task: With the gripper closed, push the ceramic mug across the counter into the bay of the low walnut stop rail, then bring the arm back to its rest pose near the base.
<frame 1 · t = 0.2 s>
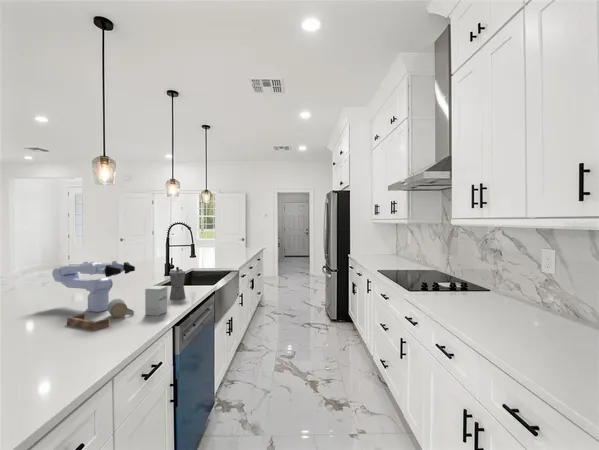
hand: (127, 269, 157), 21 cm above the countertop, tool horizontal, fingers open, 7 cm apart
supplement box: (156, 313, 159), on the countertop
ceramic mug: (121, 316, 155), on the countertop
coffeepot: (176, 297, 192), on the countertop
stop rail: (82, 326, 138), on the countertop
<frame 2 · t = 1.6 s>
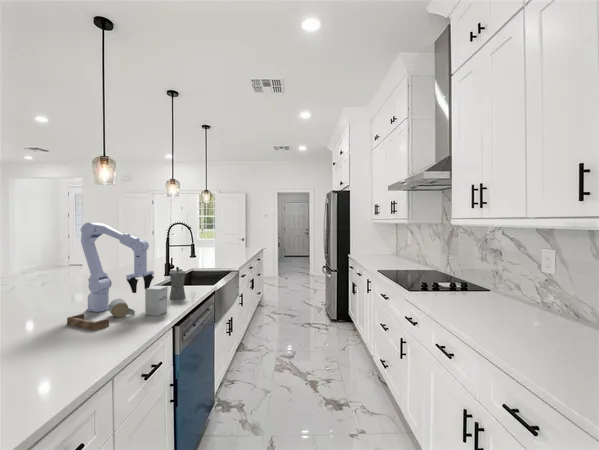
hand: (140, 291, 165), 9 cm above the countertop, tool pointing down, fingers open, 7 cm apart
nothing on the countertop moved.
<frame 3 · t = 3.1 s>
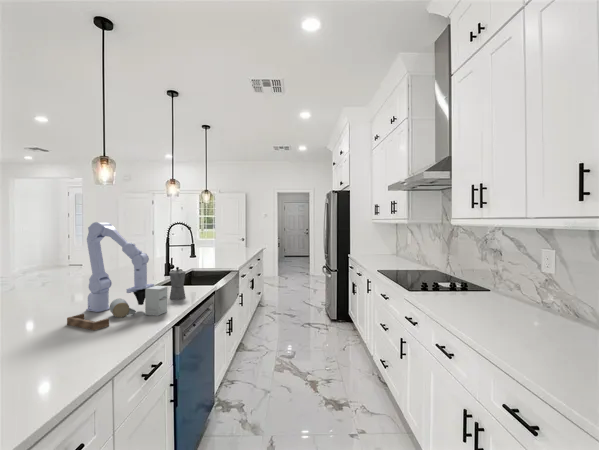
hand: (140, 304, 165), 3 cm above the countertop, tool pointing down, fingers closed
nothing on the countertop moved.
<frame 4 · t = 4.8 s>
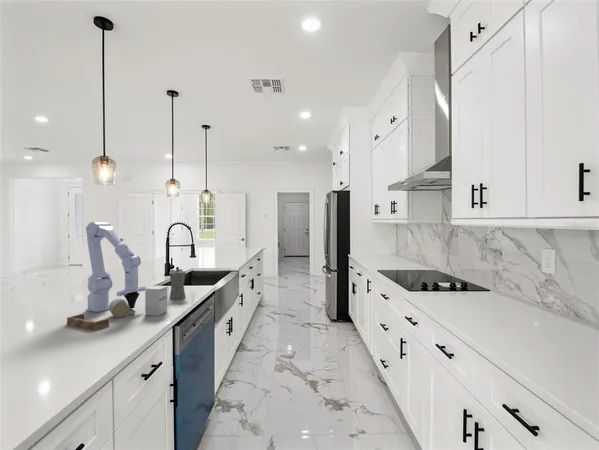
hand: (131, 308, 160), 2 cm above the countertop, tool pointing down, fingers closed
ceramic mug: (122, 316, 155), on the countertop, touching gripper
everything else where it was.
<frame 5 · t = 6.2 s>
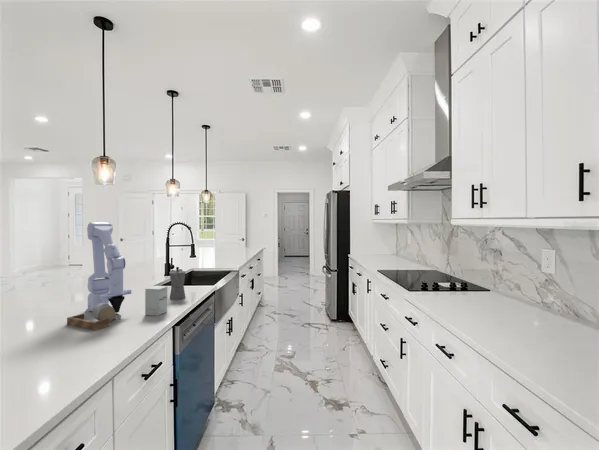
hand: (116, 312, 153), 2 cm above the countertop, tool pointing down, fingers closed
ceramic mug: (107, 321, 147), on the countertop, touching gripper
everything else where it was.
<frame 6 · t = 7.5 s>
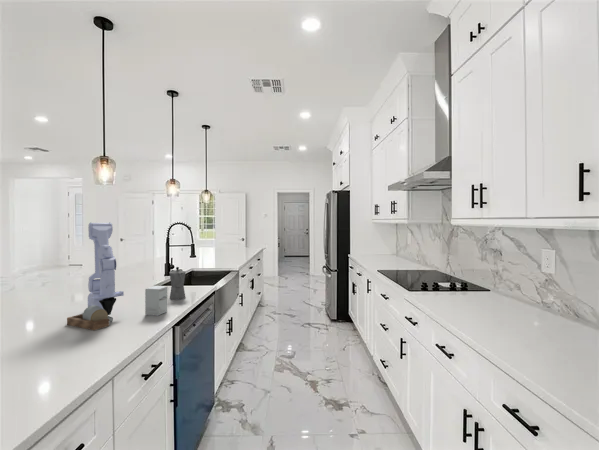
hand: (107, 314, 149), 2 cm above the countertop, tool pointing down, fingers closed
ceramic mug: (99, 323, 143), on the countertop, touching gripper
everything else where it was.
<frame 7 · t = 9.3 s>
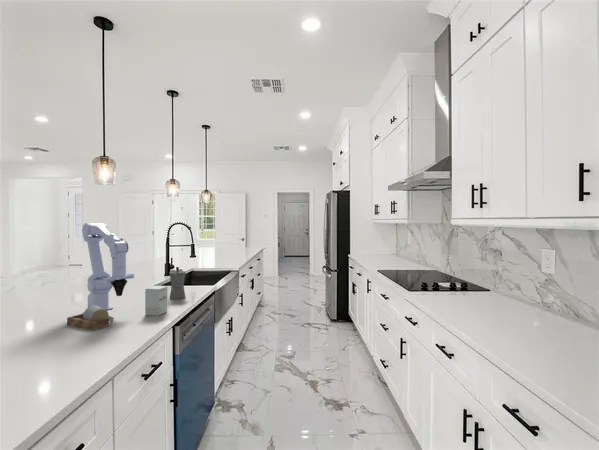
hand: (119, 295, 155), 9 cm above the countertop, tool pointing down, fingers closed
ceramic mug: (99, 323, 143), on the countertop
everything else where it was.
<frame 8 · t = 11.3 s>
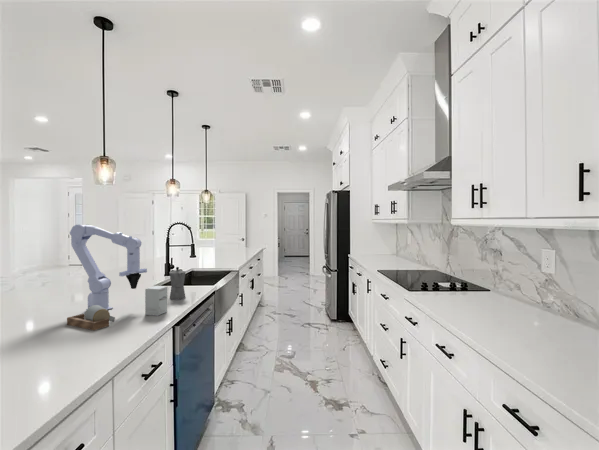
hand: (133, 288, 167), 10 cm above the countertop, tool pointing down, fingers closed
nothing on the countertop moved.
at the end: ceramic mug inside the target area (2.0 cm from its centre), on the countertop; ceramic mug tilted 0°; ceramic mug moved 11.2 cm from its start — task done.
